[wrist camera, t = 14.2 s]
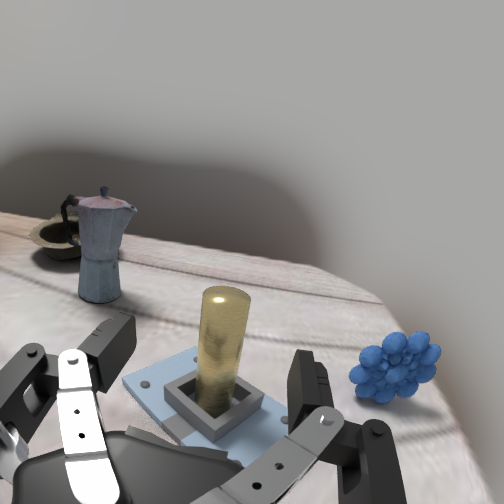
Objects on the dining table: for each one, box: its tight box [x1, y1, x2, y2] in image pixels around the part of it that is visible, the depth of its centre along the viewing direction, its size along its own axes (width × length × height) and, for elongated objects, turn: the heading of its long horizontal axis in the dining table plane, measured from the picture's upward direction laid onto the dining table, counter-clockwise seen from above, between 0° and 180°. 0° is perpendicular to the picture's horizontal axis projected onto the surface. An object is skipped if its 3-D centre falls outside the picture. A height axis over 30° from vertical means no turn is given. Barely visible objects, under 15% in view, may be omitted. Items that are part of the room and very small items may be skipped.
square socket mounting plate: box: [122, 346, 288, 468], centre depth 27 cm, size 19×12×4 cm, turn 51°
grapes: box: [349, 331, 441, 404], centre depth 31 cm, size 12×7×12 cm, turn 70°
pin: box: [195, 286, 251, 419], centre depth 25 cm, size 4×4×14 cm
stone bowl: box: [29, 211, 82, 261], centre depth 61 cm, size 25×25×9 cm
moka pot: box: [61, 187, 137, 303], centre depth 44 cm, size 10×15×20 cm, turn 102°
